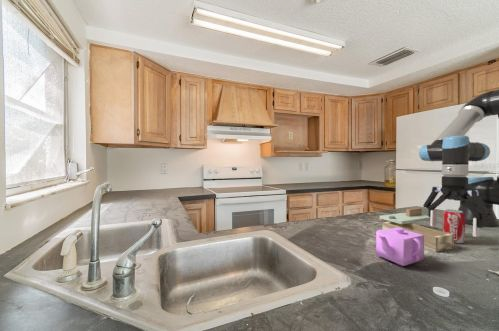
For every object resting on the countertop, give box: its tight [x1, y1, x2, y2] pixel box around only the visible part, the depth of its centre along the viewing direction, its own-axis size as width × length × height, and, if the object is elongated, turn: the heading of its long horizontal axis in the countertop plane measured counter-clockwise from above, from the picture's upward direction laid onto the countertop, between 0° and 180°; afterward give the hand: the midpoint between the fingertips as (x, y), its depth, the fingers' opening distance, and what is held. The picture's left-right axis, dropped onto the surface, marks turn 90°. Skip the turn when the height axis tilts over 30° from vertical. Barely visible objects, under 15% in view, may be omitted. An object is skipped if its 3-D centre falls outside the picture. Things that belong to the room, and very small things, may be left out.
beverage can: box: [442, 209, 466, 244], centre depth 85 cm, size 6×6×12 cm
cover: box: [379, 207, 430, 224], centre depth 98 cm, size 20×10×4 cm, turn 110°
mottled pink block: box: [375, 228, 425, 267], centre depth 70 cm, size 18×14×10 cm
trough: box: [381, 221, 455, 253], centre depth 86 cm, size 10×20×5 cm, turn 20°
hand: (453, 230), depth 85 cm, fingers open, 13 cm apart
